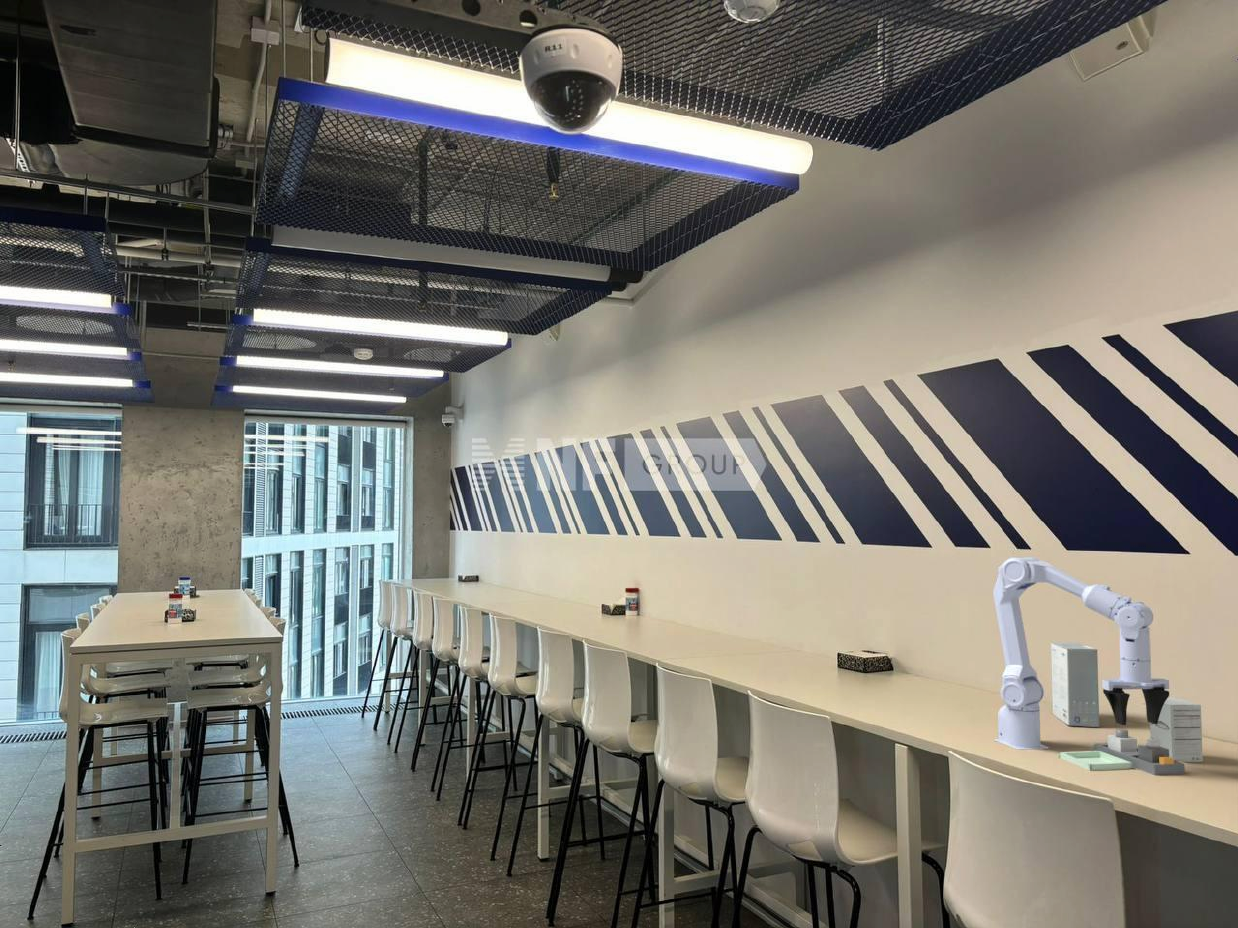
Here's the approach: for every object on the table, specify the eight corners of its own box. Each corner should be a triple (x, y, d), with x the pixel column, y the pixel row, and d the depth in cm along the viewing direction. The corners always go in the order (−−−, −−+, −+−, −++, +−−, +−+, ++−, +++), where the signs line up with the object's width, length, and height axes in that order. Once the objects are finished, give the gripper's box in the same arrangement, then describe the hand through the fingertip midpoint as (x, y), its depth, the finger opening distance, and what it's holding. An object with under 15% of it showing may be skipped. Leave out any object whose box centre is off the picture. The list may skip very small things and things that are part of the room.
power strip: (1094, 754, 199) (1093, 738, 200) (1122, 753, 201) (1121, 737, 201) (1154, 777, 182) (1154, 758, 182) (1184, 775, 183) (1184, 757, 183)
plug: (1138, 769, 188) (1137, 737, 189) (1155, 768, 189) (1154, 737, 189) (1152, 774, 184) (1151, 742, 185) (1169, 773, 185) (1168, 741, 185)
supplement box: (1149, 754, 201) (1147, 697, 201) (1180, 753, 201) (1178, 697, 202) (1172, 762, 193) (1169, 704, 194) (1204, 762, 194) (1202, 703, 195)
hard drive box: (1100, 728, 226) (1098, 649, 227) (1068, 726, 228) (1066, 648, 229) (1081, 715, 241) (1079, 641, 243) (1051, 714, 243) (1049, 640, 244)
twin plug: (1108, 757, 197) (1107, 728, 198) (1124, 757, 198) (1123, 727, 198) (1121, 762, 193) (1120, 732, 194) (1137, 761, 194) (1136, 731, 194)
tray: (1058, 760, 195) (1058, 752, 195) (1099, 758, 196) (1099, 750, 196) (1089, 772, 185) (1089, 764, 185) (1132, 770, 186) (1132, 762, 187)
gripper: (1118, 662, 185) (1119, 728, 184) (1179, 661, 187) (1181, 726, 186) (1094, 657, 192) (1096, 721, 191) (1154, 656, 194) (1156, 719, 193)
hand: (1136, 723), depth 189 cm, fingers open, 7 cm apart
